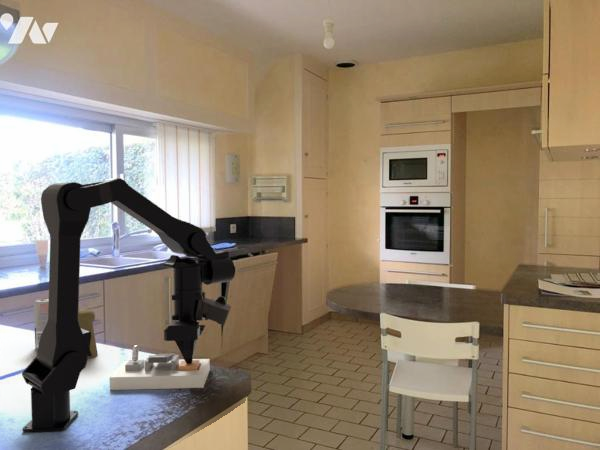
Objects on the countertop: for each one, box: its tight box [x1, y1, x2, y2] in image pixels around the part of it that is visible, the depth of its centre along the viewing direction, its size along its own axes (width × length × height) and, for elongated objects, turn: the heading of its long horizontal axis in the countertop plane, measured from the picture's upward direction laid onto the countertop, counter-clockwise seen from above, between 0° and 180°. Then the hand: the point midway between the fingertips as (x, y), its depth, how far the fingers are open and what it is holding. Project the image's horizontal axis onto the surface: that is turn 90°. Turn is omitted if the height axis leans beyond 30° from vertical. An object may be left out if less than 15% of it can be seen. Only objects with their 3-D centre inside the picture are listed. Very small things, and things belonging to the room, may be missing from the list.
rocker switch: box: [147, 353, 176, 363], centre depth 101 cm, size 8×4×1 cm, turn 3°
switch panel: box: [109, 354, 211, 391], centre depth 102 cm, size 10×18×4 cm, turn 93°
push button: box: [179, 360, 200, 371], centre depth 102 cm, size 4×4×3 cm
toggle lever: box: [131, 344, 140, 361], centre depth 102 cm, size 1×1×3 cm
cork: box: [78, 308, 99, 360], centre depth 117 cm, size 6×6×11 cm
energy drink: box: [33, 297, 49, 350], centre depth 124 cm, size 5×5×12 cm
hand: (189, 363), depth 102 cm, fingers closed, pressing on push button
